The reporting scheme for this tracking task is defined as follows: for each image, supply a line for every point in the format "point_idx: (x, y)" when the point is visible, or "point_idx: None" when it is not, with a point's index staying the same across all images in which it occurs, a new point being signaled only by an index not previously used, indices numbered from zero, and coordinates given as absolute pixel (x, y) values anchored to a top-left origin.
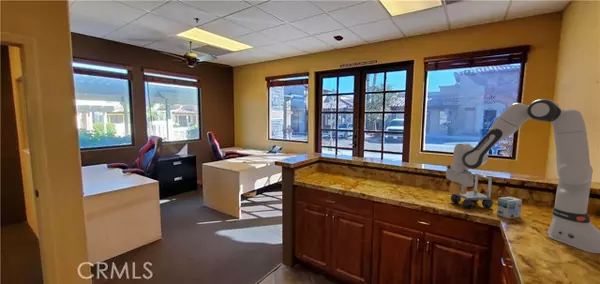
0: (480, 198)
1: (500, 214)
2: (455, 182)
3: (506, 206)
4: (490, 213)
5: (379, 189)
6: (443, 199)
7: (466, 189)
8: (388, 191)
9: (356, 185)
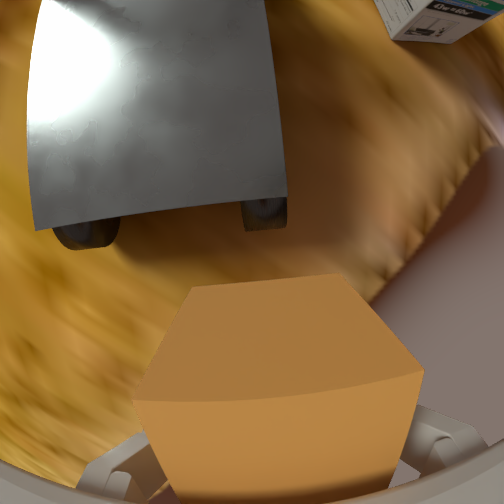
0: (265, 20)
1: (419, 38)
2: (135, 484)
3: (488, 14)
4: (371, 63)
5: (17, 464)
6: (44, 255)
7: (368, 312)
8: (24, 455)
9: None
